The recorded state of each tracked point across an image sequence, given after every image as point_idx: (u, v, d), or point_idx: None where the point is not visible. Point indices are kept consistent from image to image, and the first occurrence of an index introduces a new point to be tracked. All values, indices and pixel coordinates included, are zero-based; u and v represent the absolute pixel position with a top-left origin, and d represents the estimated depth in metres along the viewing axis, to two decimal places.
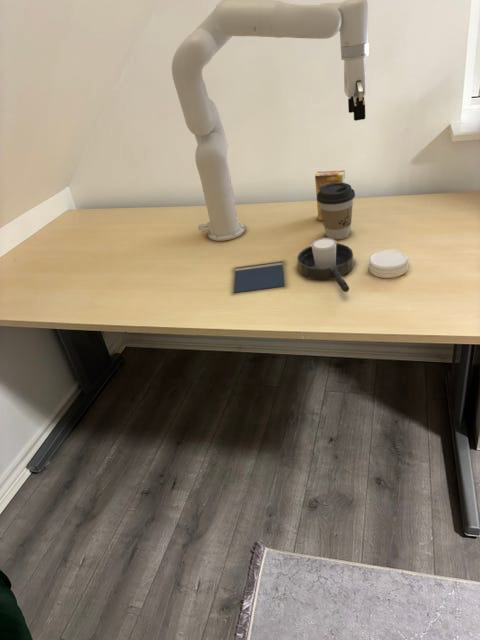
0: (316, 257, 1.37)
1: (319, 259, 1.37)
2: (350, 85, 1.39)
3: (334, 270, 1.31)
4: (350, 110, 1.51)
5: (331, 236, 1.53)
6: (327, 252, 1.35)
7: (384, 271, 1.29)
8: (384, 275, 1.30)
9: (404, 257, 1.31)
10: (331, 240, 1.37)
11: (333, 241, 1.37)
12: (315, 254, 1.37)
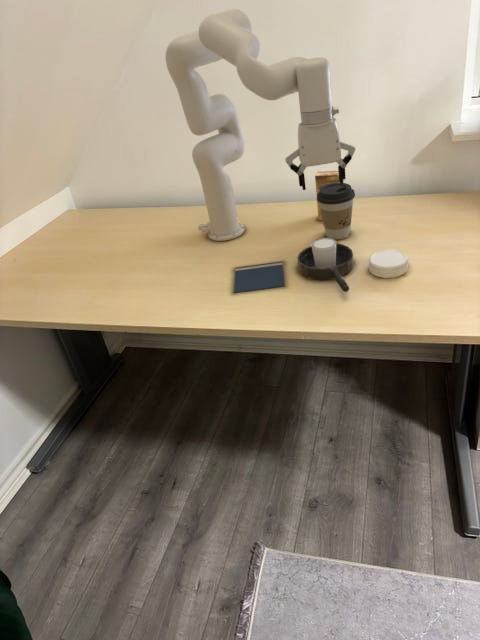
0: (316, 257, 1.37)
1: (319, 259, 1.37)
2: None
3: (334, 270, 1.31)
4: (339, 178, 1.29)
5: (331, 236, 1.53)
6: (327, 252, 1.35)
7: (384, 271, 1.29)
8: (384, 275, 1.30)
9: (404, 257, 1.31)
10: (331, 240, 1.37)
11: (333, 241, 1.37)
12: (315, 254, 1.37)
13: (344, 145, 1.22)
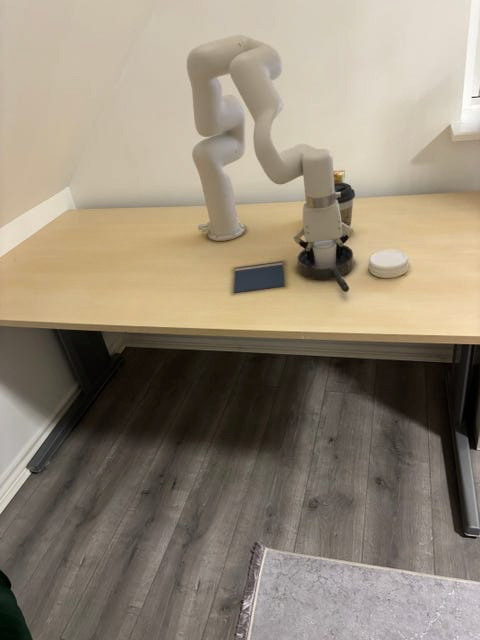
0: (316, 257, 1.37)
1: (319, 259, 1.37)
2: None
3: (334, 270, 1.31)
4: None
5: None
6: (327, 252, 1.35)
7: (384, 271, 1.29)
8: (384, 275, 1.30)
9: (404, 257, 1.31)
10: (331, 240, 1.37)
11: (333, 241, 1.37)
12: (315, 254, 1.37)
13: (344, 226, 1.33)
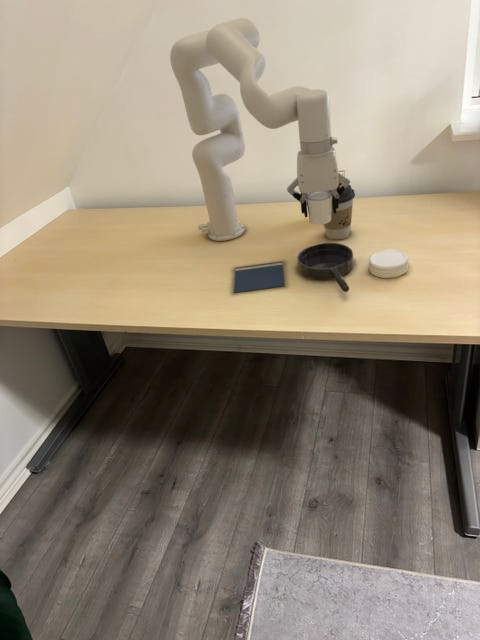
0: (311, 210, 1.30)
1: (314, 212, 1.29)
2: None
3: (334, 270, 1.31)
4: (332, 207, 1.32)
5: (331, 236, 1.53)
6: (322, 204, 1.27)
7: (384, 271, 1.29)
8: (384, 275, 1.30)
9: (404, 257, 1.31)
10: (327, 192, 1.30)
11: (329, 193, 1.29)
12: (309, 207, 1.29)
13: (341, 176, 1.25)
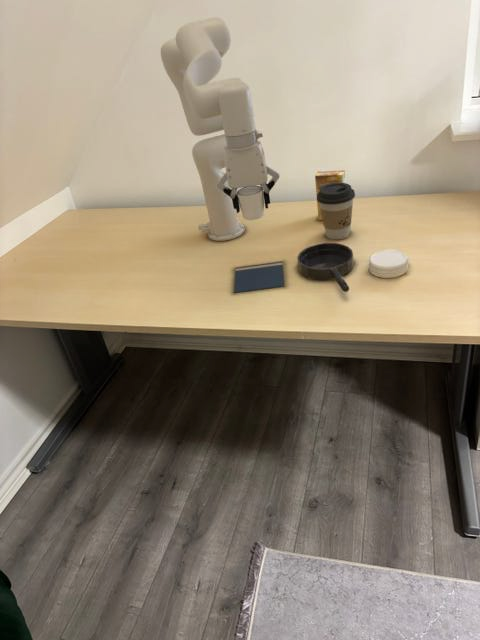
0: (242, 205, 1.28)
1: (245, 207, 1.28)
2: None
3: (334, 270, 1.31)
4: None
5: (331, 236, 1.53)
6: (252, 199, 1.26)
7: (384, 271, 1.29)
8: (384, 275, 1.30)
9: (404, 257, 1.31)
10: (258, 187, 1.28)
11: (260, 188, 1.28)
12: (240, 202, 1.28)
13: (269, 170, 1.24)
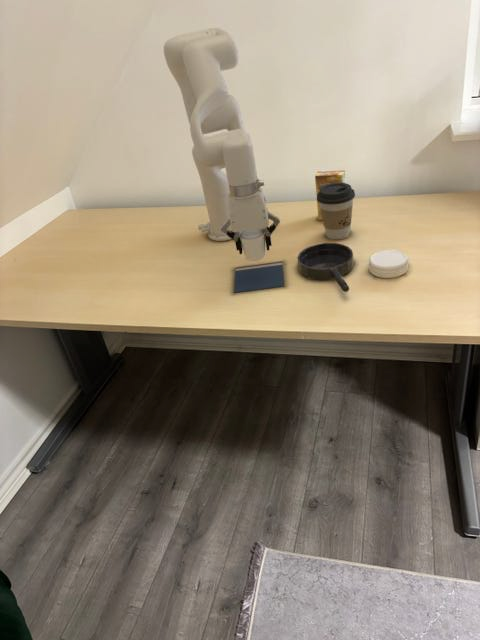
0: (244, 247, 1.35)
1: (247, 249, 1.34)
2: None
3: (334, 270, 1.31)
4: None
5: (331, 236, 1.53)
6: (254, 242, 1.32)
7: (384, 271, 1.29)
8: (384, 275, 1.30)
9: (404, 257, 1.31)
10: (260, 230, 1.35)
11: (261, 231, 1.34)
12: (243, 244, 1.34)
13: (270, 215, 1.31)
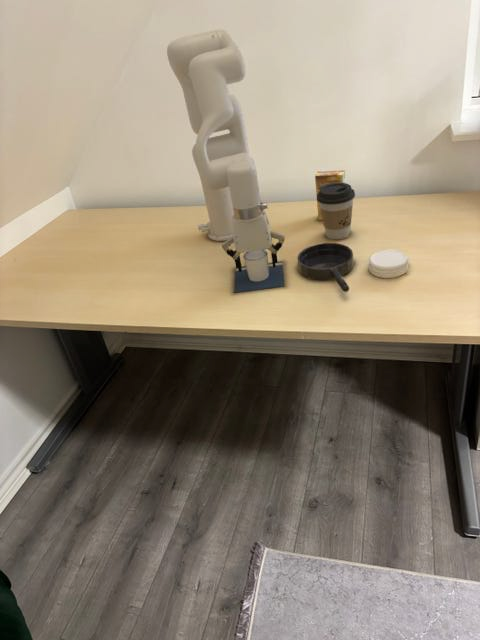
0: (248, 268, 1.38)
1: (250, 270, 1.38)
2: None
3: (334, 270, 1.31)
4: None
5: (331, 236, 1.53)
6: (257, 263, 1.36)
7: (384, 271, 1.29)
8: (384, 275, 1.30)
9: (404, 257, 1.31)
10: (263, 251, 1.39)
11: (264, 252, 1.38)
12: (247, 265, 1.38)
13: (274, 235, 1.34)
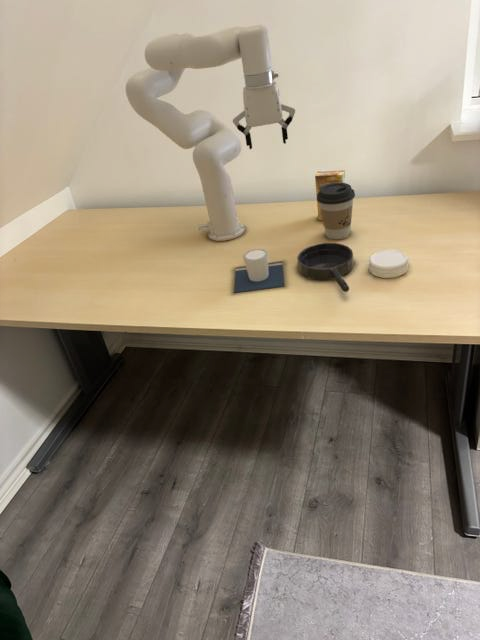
0: (248, 268, 1.38)
1: (250, 270, 1.38)
2: None
3: (334, 270, 1.31)
4: None
5: (331, 236, 1.53)
6: (257, 263, 1.36)
7: (384, 271, 1.29)
8: (384, 275, 1.30)
9: (404, 257, 1.31)
10: (263, 251, 1.39)
11: (264, 252, 1.38)
12: (247, 265, 1.38)
13: (285, 107, 1.35)
